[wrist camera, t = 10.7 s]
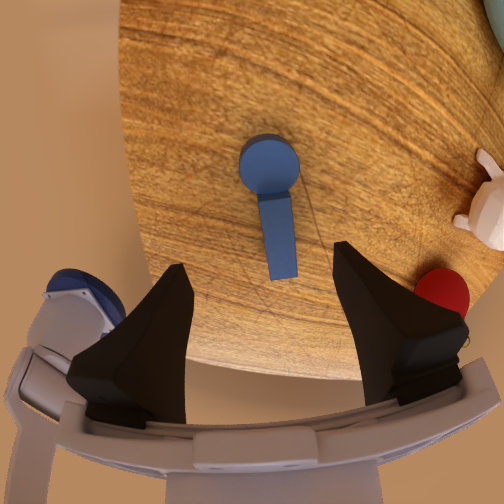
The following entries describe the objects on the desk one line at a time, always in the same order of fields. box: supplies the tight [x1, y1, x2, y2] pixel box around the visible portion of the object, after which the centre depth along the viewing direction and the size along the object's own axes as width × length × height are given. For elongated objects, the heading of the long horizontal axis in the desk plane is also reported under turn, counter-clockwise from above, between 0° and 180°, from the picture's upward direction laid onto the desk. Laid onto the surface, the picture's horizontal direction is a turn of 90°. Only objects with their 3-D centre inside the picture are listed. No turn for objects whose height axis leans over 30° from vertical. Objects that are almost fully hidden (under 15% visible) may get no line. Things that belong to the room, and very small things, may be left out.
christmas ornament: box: [413, 268, 470, 348], centre depth 22 cm, size 7×7×10 cm
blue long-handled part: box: [239, 134, 300, 281], centre depth 20 cm, size 11×4×3 cm, turn 9°
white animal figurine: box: [453, 148, 504, 251], centre depth 17 cm, size 9×8×15 cm
